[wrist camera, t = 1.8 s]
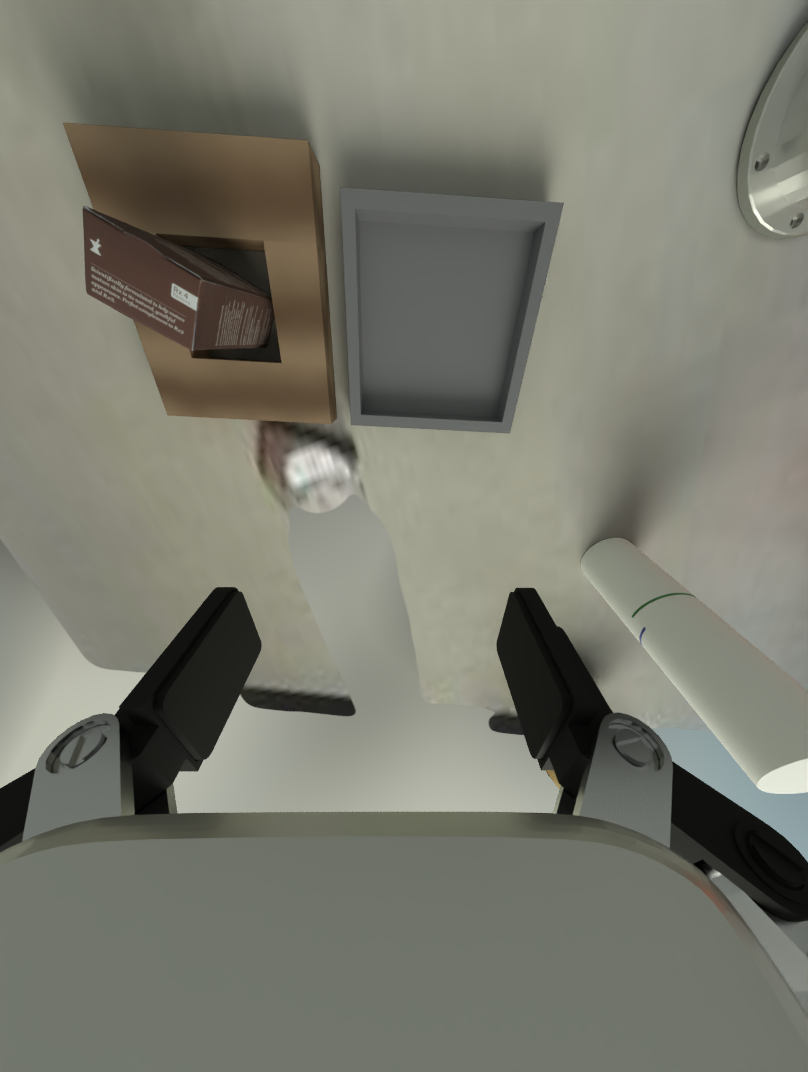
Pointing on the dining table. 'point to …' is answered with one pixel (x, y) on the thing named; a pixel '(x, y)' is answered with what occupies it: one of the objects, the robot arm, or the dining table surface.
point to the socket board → (228, 223)
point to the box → (172, 288)
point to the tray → (441, 305)
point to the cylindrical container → (709, 666)
